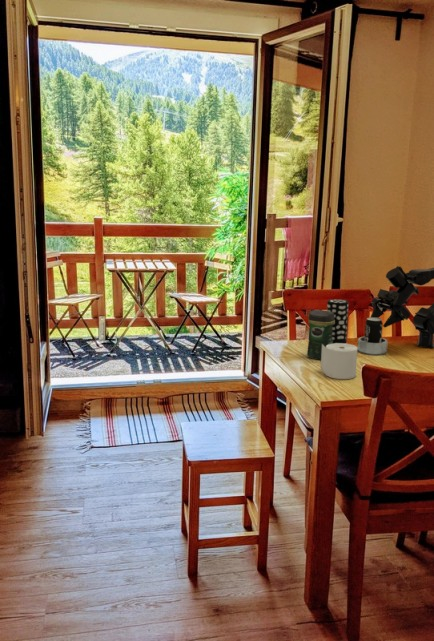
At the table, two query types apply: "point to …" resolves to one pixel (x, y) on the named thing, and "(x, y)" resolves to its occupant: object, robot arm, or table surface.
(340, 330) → the white-spotted black cylinder
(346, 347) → the toilet tissue
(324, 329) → the coffee jar
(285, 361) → the table surface
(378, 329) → the beverage can
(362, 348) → the can holder
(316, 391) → the table surface
